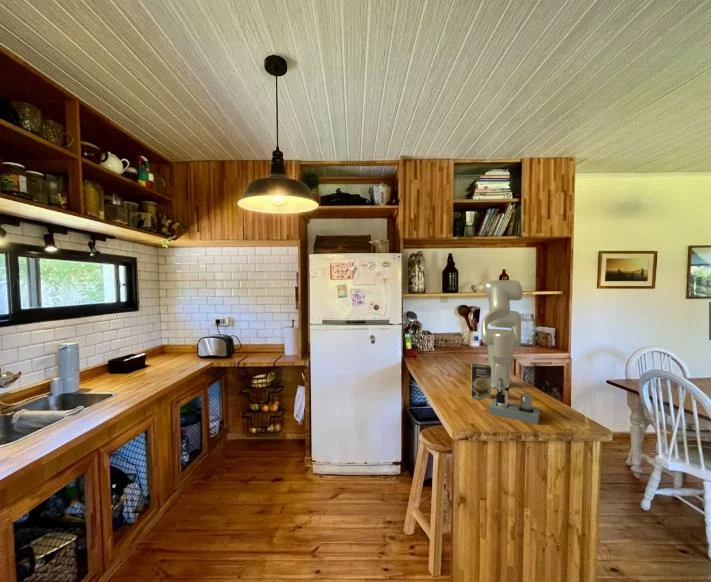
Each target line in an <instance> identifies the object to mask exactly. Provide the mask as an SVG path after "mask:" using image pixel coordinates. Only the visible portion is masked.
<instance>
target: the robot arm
mask: <svg viewBox="0 0 711 582" xmlns="http://www.w3.org/2000/svg"><path fill="white" fill-rule="evenodd" d="M483 288H484V294H485V296H486V298H487V300H488V312H487V313H486V315H484V317H483V318H482V321H481V326H480V329H481V330H480V331H481V333H480V336H481V341H482V343H483V344H484V345H487V365H490V367H491V389H496V393H495V394H496V397H495V399H496V402H497V403H502V404H505V394H504V391H505V390H506V391H508V397H509V396H510V395H509V393H510V392H509V391H510V389H509V388H510V379H511V377H510V376H511V375H510V374H511V371H510V370H511V366H513V365H514V364H513V359H514V358H513V357H514V356H513V354H514V353H513V351H514V350H513V348H515V349H517V348H520V347H521V344H522V317H521V314H520V312H519V311H518V310H511V306H510V305H511V303H510V301H515V302H516V301H521V300H522V298H523V296H524V290H523V285H522V284H521V283H520V281H519V280H516V279H515V280H514V279H513V280H512V279H511V280H506V279H505V280H501V279H500V280H498V279H497V280H488V281H485V283H484V285H483ZM488 326H491V327H493V328H488ZM503 328H505V329H503ZM502 390H503V391H502Z"/></svg>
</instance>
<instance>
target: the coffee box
mask: <svg viewBox="0 0 711 582" xmlns="http://www.w3.org/2000/svg"><path fill="white" fill-rule="evenodd" d="M470 365H471V367H470V370H471V374H470V381H471V382H470V398H471V399H475V400H482V399H492V388H491V367H490V365H488V364H477V363H471V364H470Z"/></svg>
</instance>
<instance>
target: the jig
mask: <svg viewBox="0 0 711 582" xmlns="http://www.w3.org/2000/svg"><path fill="white" fill-rule="evenodd" d="M488 414H490V415H494V416H498V417H502V418H506V419H511V420H517V421H520V422H526V423H529V424H534V425H539V421H540V417H541V416H540V415H541V407H537V406H533V405H532V413H529V412H525V411H521V403H516V402H511V401H508V408H505V407H500V406H498V403H497V402H496V398H494V399H493V400H492V401H491V402H490V404H489V406H488Z"/></svg>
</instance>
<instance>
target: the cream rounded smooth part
mask: <svg viewBox="0 0 711 582" xmlns="http://www.w3.org/2000/svg"><path fill="white" fill-rule="evenodd" d="M502 391H503V390H502ZM504 394H505V404H502V403H498V406H500V407H505V408H508V402H509V396H508V391H506V390H505V391H504Z"/></svg>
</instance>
